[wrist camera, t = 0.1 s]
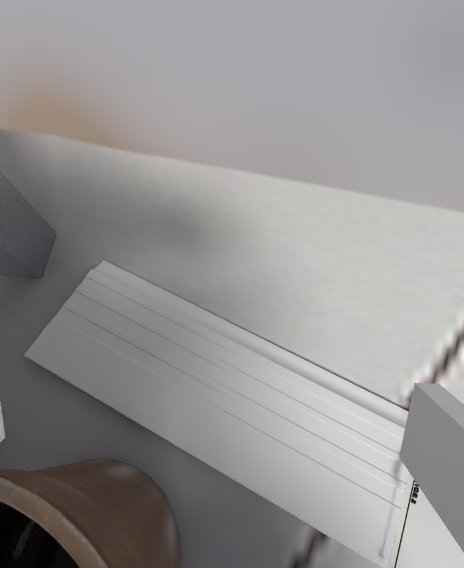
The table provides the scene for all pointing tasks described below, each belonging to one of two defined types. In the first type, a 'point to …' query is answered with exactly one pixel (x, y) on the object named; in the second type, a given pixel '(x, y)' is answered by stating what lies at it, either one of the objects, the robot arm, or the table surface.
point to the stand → (22, 235)
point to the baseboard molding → (236, 405)
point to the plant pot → (87, 518)
